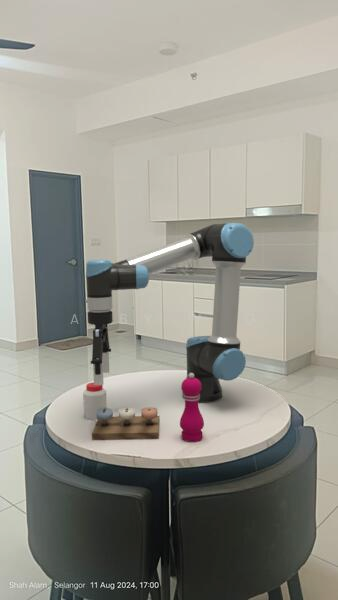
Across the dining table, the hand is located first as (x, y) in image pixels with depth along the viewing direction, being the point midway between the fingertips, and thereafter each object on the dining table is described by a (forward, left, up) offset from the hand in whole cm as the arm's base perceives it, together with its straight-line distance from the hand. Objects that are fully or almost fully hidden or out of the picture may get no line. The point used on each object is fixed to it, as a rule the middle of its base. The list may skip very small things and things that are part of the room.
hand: (102, 378), depth 151 cm
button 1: (-14, 0, -15) cm, 20 cm away
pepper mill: (-27, +7, -17) cm, 33 cm away
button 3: (0, 0, -15) cm, 15 cm away
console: (-7, 0, -17) cm, 18 cm away
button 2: (-7, 0, -15) cm, 16 cm away
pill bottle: (+5, -13, -17) cm, 22 cm away
